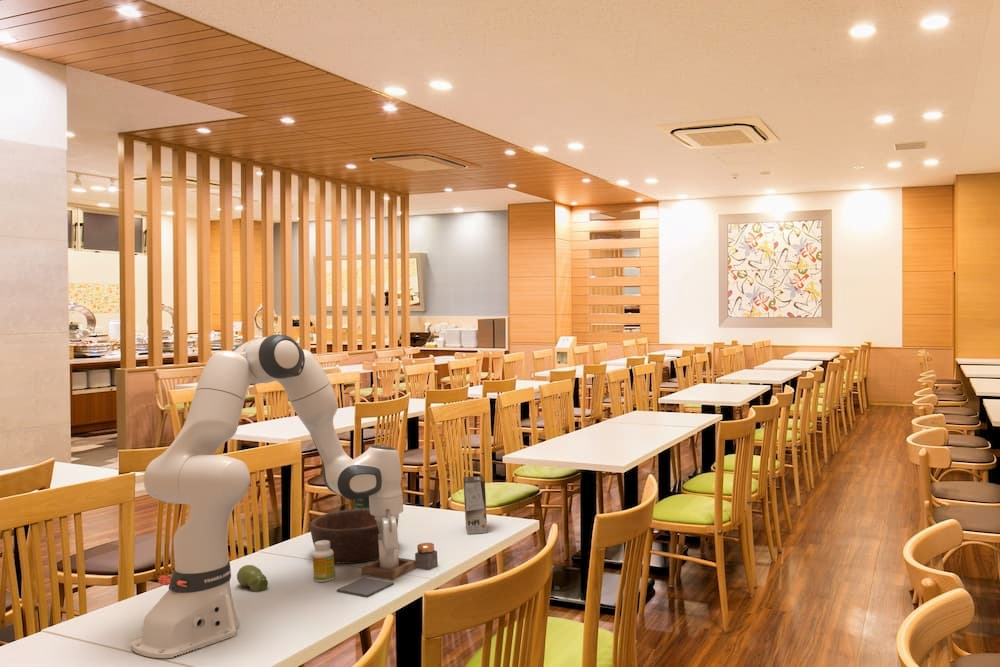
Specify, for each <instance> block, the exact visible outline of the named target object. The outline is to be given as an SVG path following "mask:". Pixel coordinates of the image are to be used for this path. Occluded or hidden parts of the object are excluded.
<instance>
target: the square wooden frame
mask: <svg viewBox="0 0 1000 667" xmlns="http://www.w3.org/2000/svg"><path fill="white" fill-rule="evenodd" d="M414 558H415V559H409V558H403V557H399V566H398V567H396V568H394V569H392V570H390V569H383V568H380V559H379V558H378V559H377V560H376V559H375V561H372V562H370V563H367V564H366V565H362V566H361V567H360V570H361V573H360V575H363V576H368V577H373V578H377V579H379V578H380V579H384V580H385V579H386V580H391V581H393V580H395V579H398V578H400V577H402V576H403V575H406V574H408V573H410V572H413V571H414V570H416V569H418V570H424V571H425V570H426V571H431V570H432V569H434V568H436V567H437V566H439V564H438V563H439V562H438V550H434V551H433V552H429V553H428V554H423V553H419V552H418V551H417V552H415V553H414Z"/></svg>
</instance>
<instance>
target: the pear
mask: <svg viewBox="0 0 1000 667" xmlns="http://www.w3.org/2000/svg"><path fill="white" fill-rule="evenodd" d="M236 579H237V580H236V581H237V582H238V583H239V585H241V586H243V587H249V588H250V590H251V591H252V592H255V593H256V592H261V591H264V590H267V589H268V584H269V583H268V582H269V580H268V579H267V576H266V575H265V574H264V573H263V572H262V570H261V569H260V568H258V567H257V566H255V565H251V564H245V565H243V566H241V567H240V568H239V569H238V571H237V574H236Z"/></svg>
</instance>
